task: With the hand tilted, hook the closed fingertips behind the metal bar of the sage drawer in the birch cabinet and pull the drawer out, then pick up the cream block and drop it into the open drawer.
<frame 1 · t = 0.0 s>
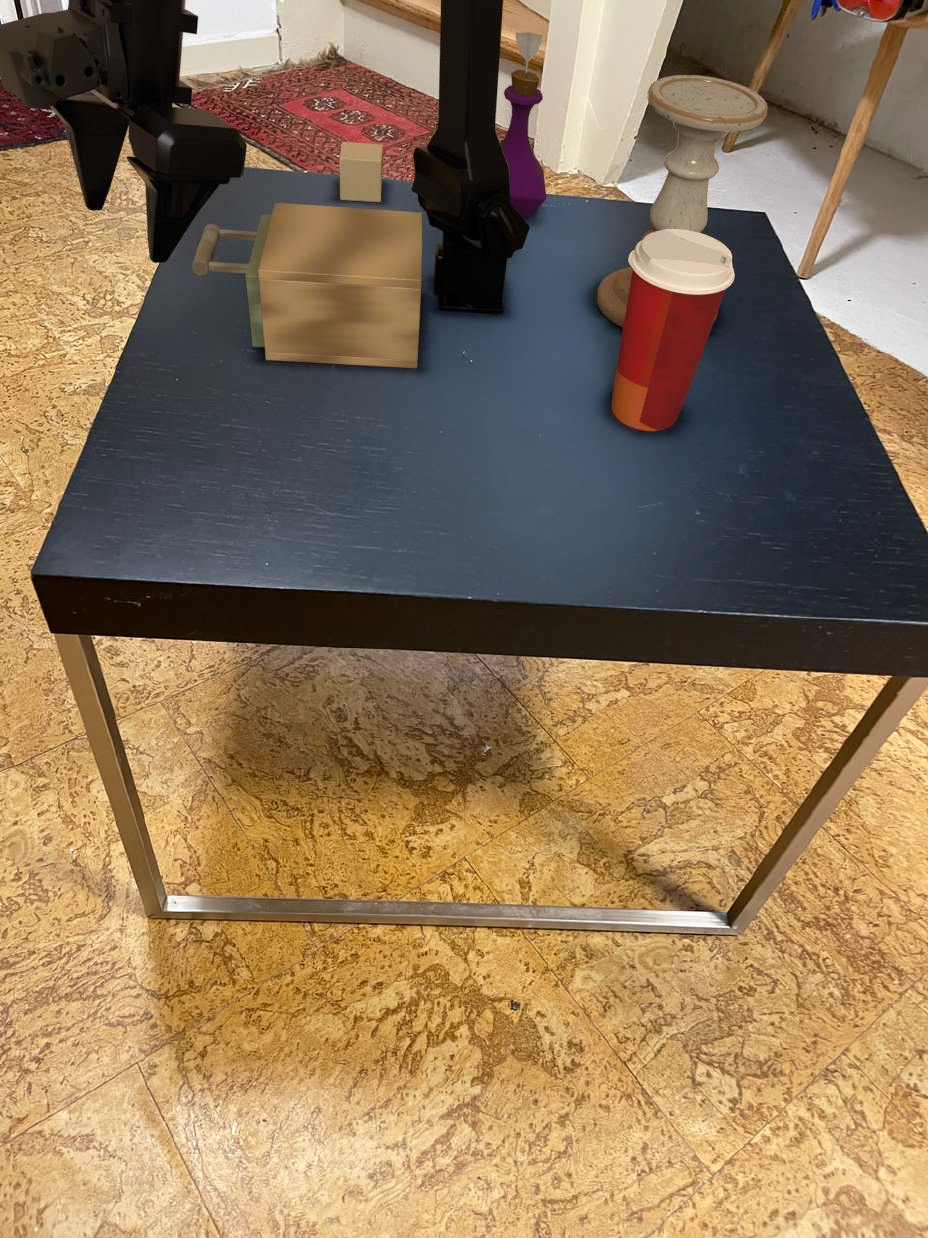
hand: (125, 234, 67), 15 cm above the table, tool pointing down, fingers open, 9 cm apart
perfume bottle: (508, 211, 109), on the table
coffee cup: (642, 412, 85), on the table
candle holder: (655, 309, 97), on the table
cabinet: (346, 326, 90), on the table
drawer: (299, 281, 86), point 4 cm above the table, slide at 0.0 cm
block: (361, 192, 109), on the table
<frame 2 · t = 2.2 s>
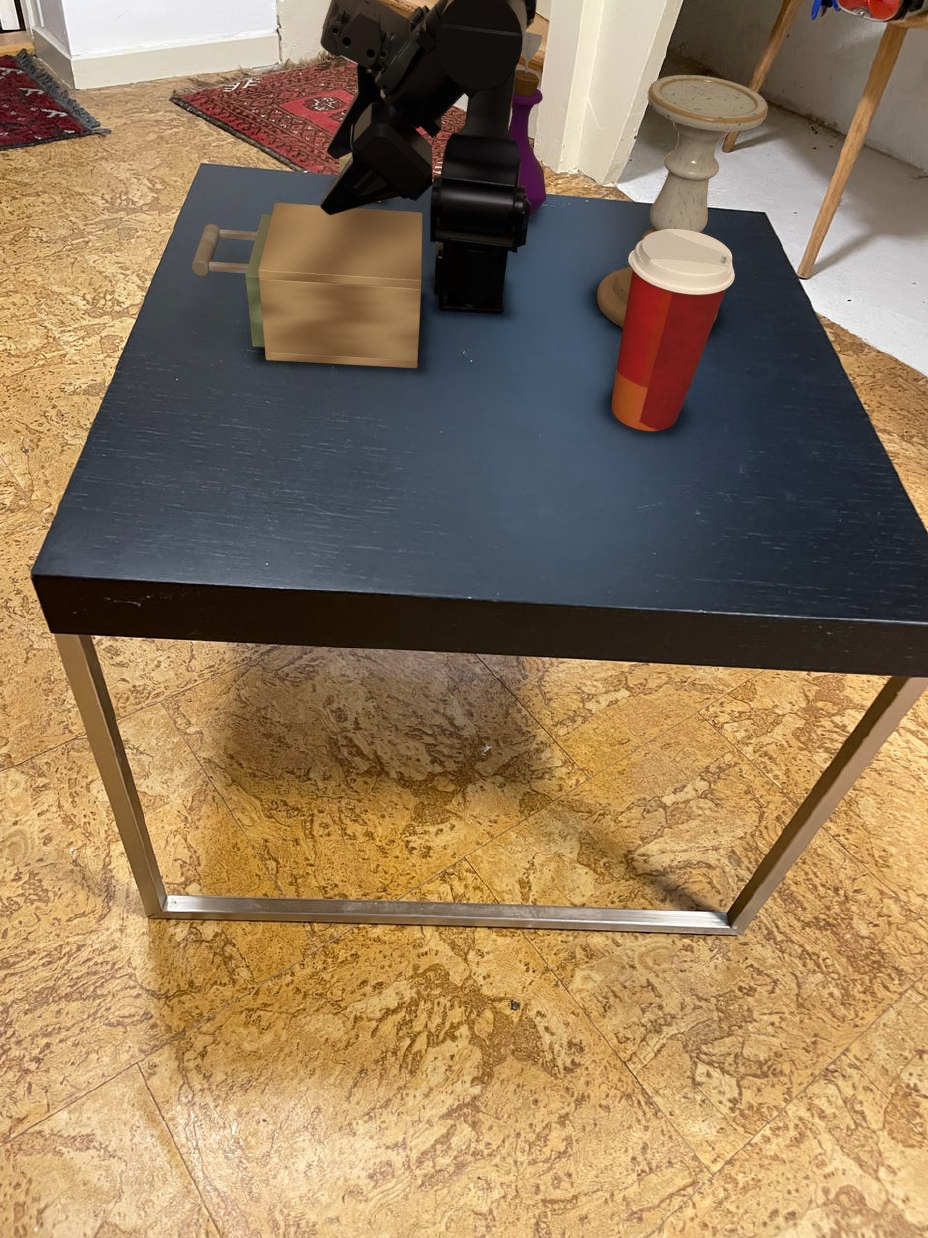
hand: (327, 181, 79), 14 cm above the table, tool tilted 40°, fingers open, 9 cm apart
nothing on the table moved.
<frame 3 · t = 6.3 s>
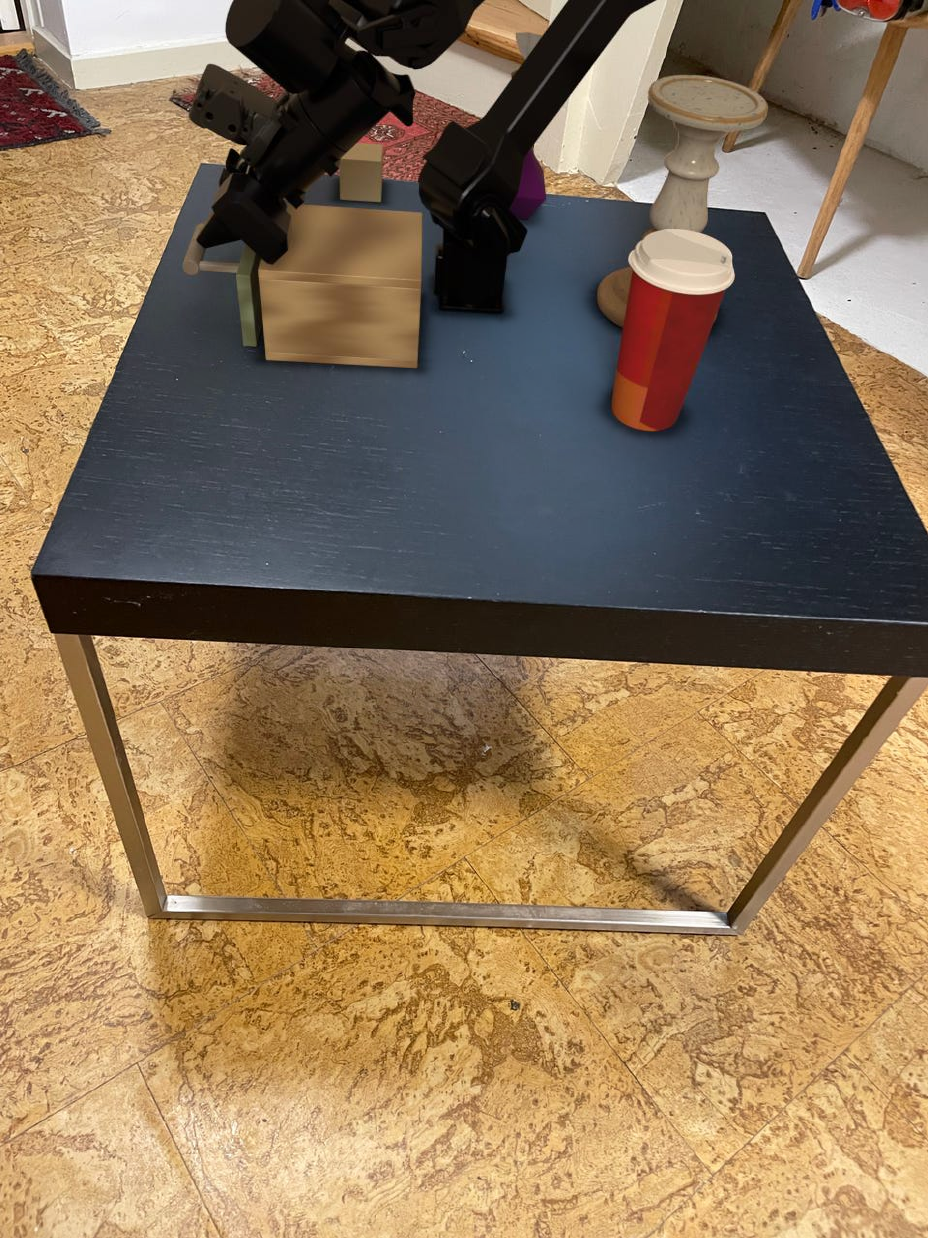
hand: (200, 242, 83), 7 cm above the table, tool tilted 45°, fingers closed, pressing on drawer
drawer: (290, 281, 86), point 4 cm above the table, slide at 0.8 cm, touching gripper
everything else where it was.
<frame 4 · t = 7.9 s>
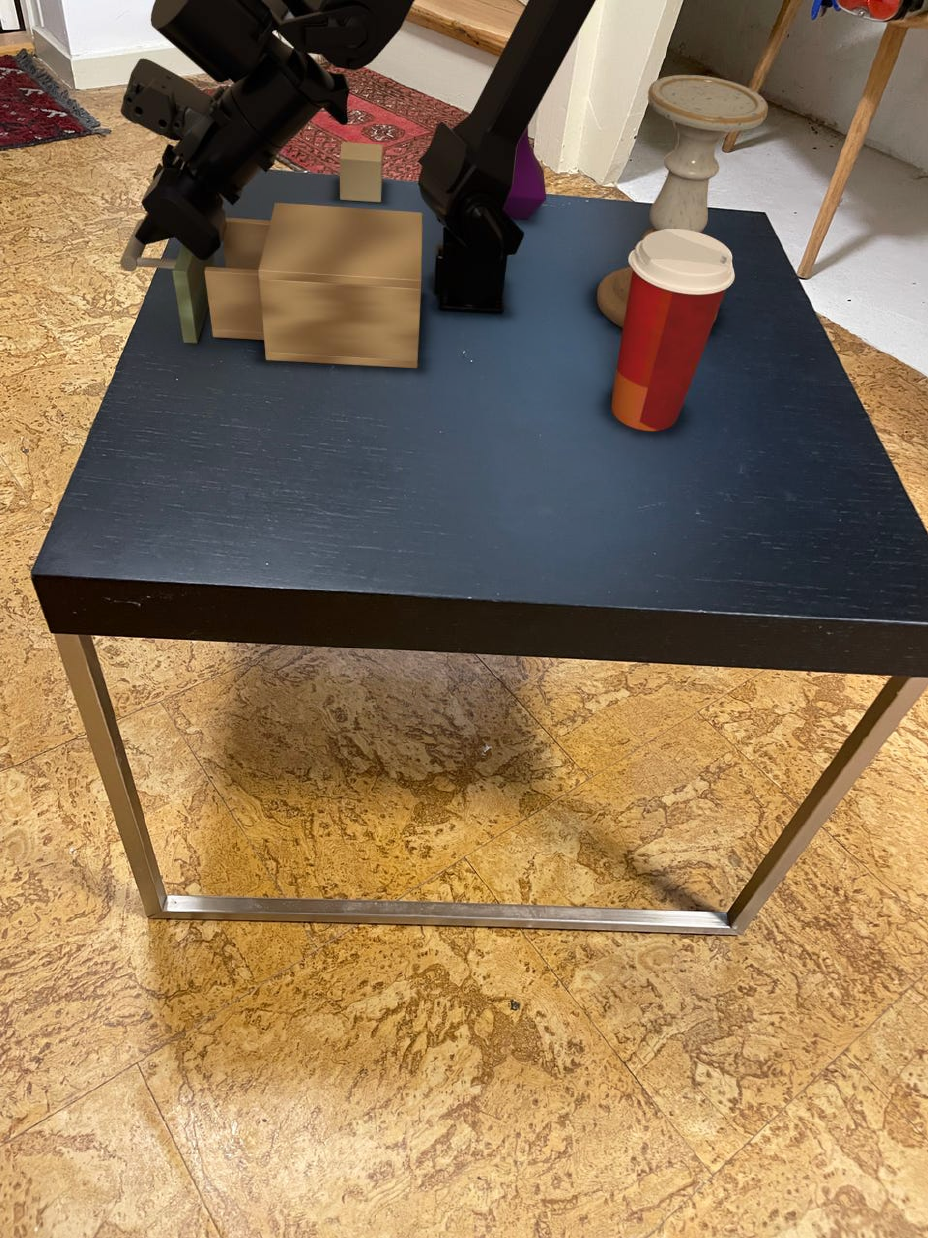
hand: (139, 238, 83), 7 cm above the table, tool tilted 45°, fingers closed, pressing on drawer
drawer: (232, 277, 86), point 4 cm above the table, slide at 6.0 cm, touching gripper
everything else where it was.
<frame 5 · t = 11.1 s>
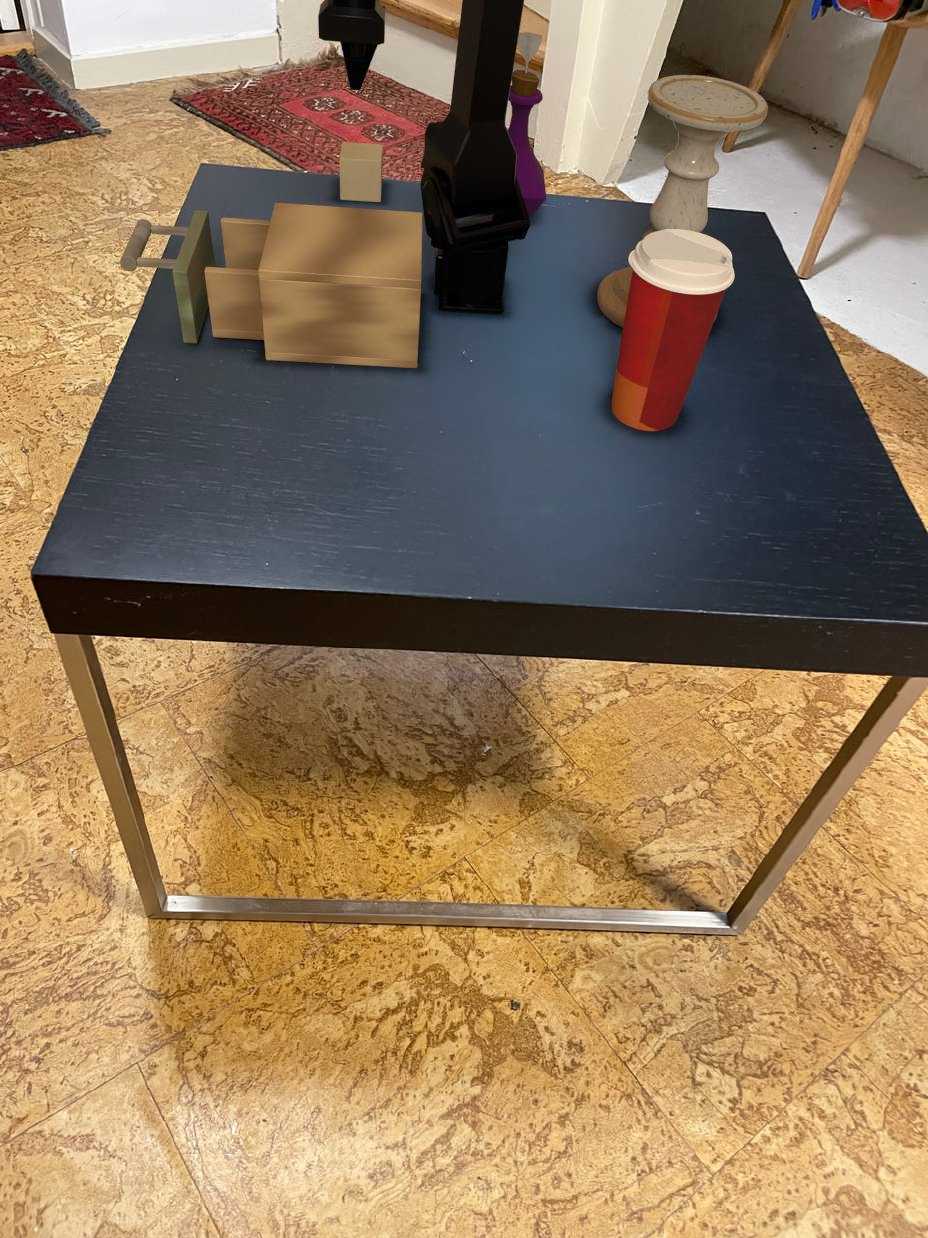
hand: (355, 88, 101), 11 cm above the table, tool pointing down, fingers closed
drawer: (231, 277, 86), point 4 cm above the table, slide at 6.0 cm
everything else where it was.
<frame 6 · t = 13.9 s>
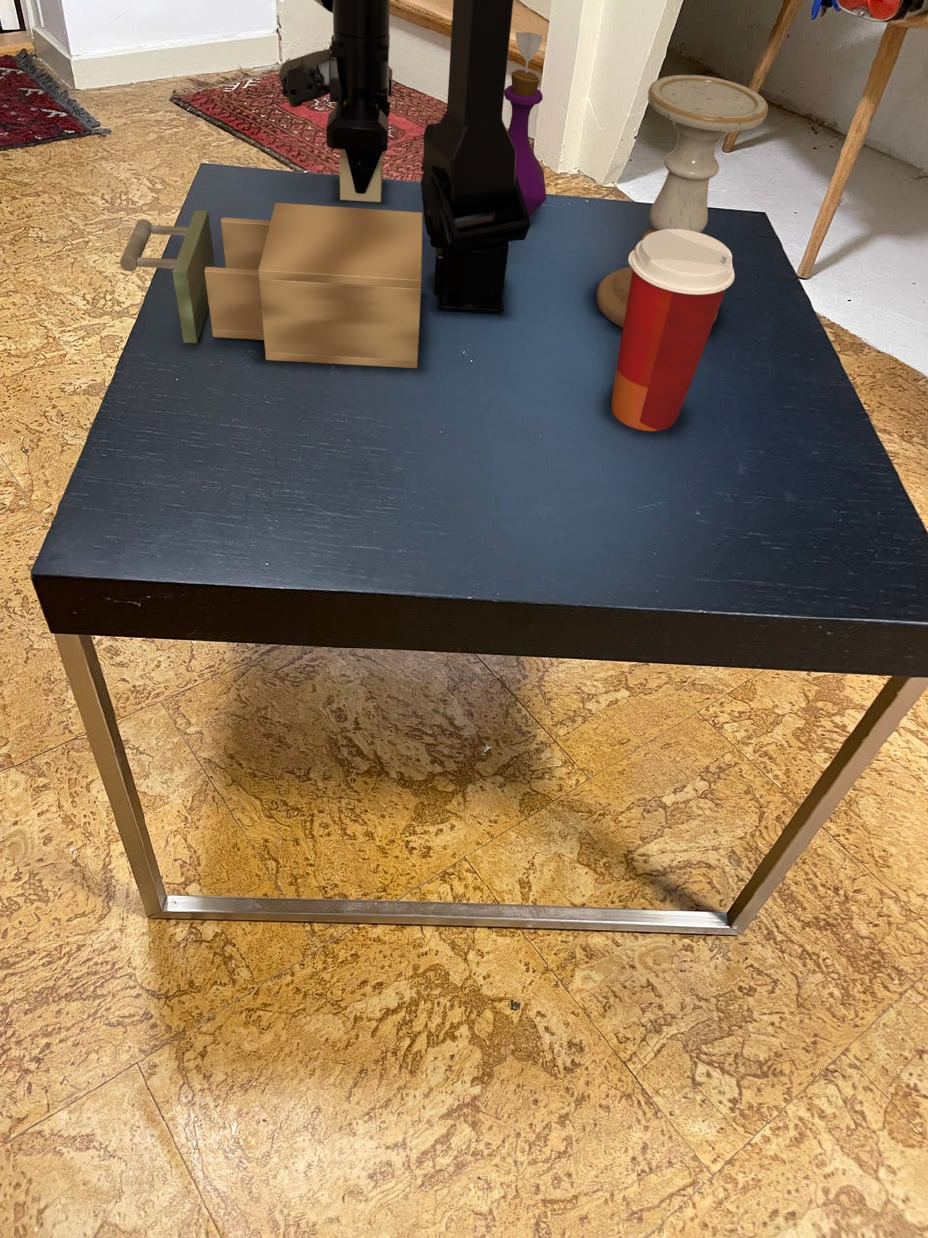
hand: (361, 183, 109), 1 cm above the table, tool pointing down, fingers closed on block, 4 cm apart
block: (361, 192, 109), on the table, touching gripper
everything else where it was.
when the fingers open (9 cm above the table, at t = 19.1 s): block drops 3 cm and tips over, resting on drawer.
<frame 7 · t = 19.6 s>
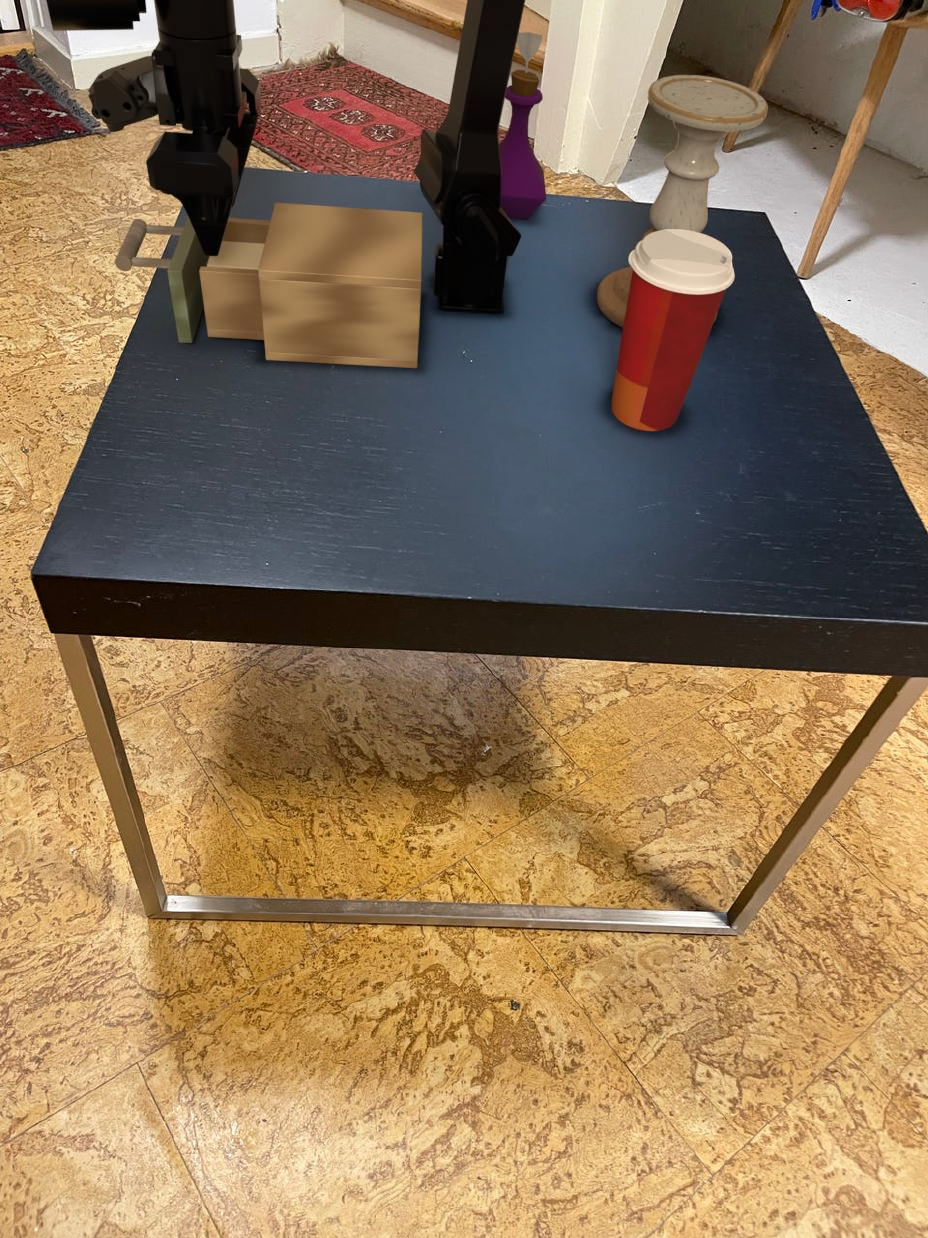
hand: (219, 229, 83), 9 cm above the table, tool pointing down, fingers open, 9 cm apart
drawer: (227, 277, 86), point 4 cm above the table, slide at 6.5 cm, touching block
block: (213, 276, 86), point 4 cm above the table, tilted 90°, touching drawer
everything else where it was.
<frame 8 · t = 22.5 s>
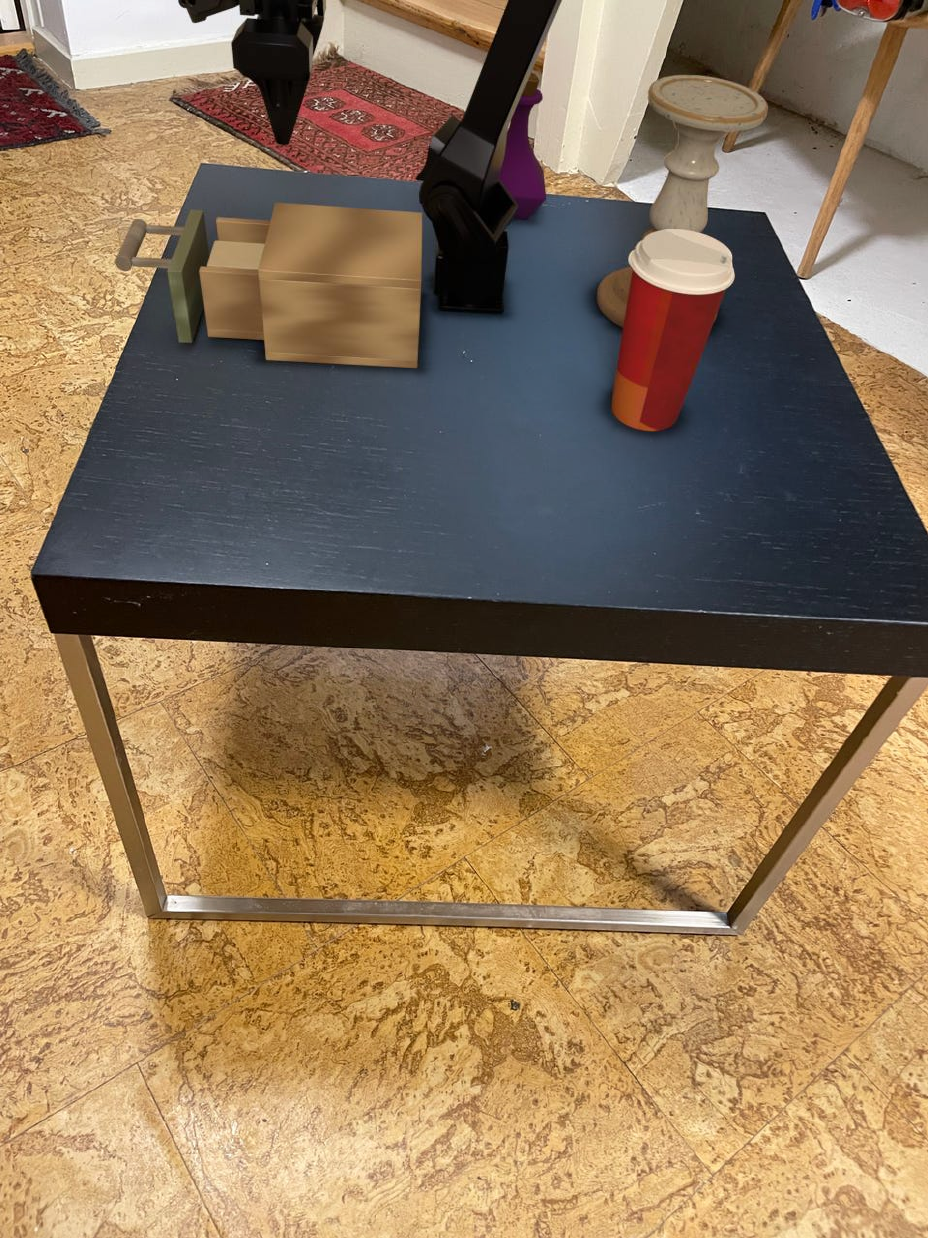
hand: (288, 123, 89), 13 cm above the table, tool pointing down, fingers open, 9 cm apart
nothing on the table moved.
at the end: drawer slide at 6.5 cm; block inside the target area in the drawer (1.4 cm from its centre), point 4.3 cm above the cabinet's base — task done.
